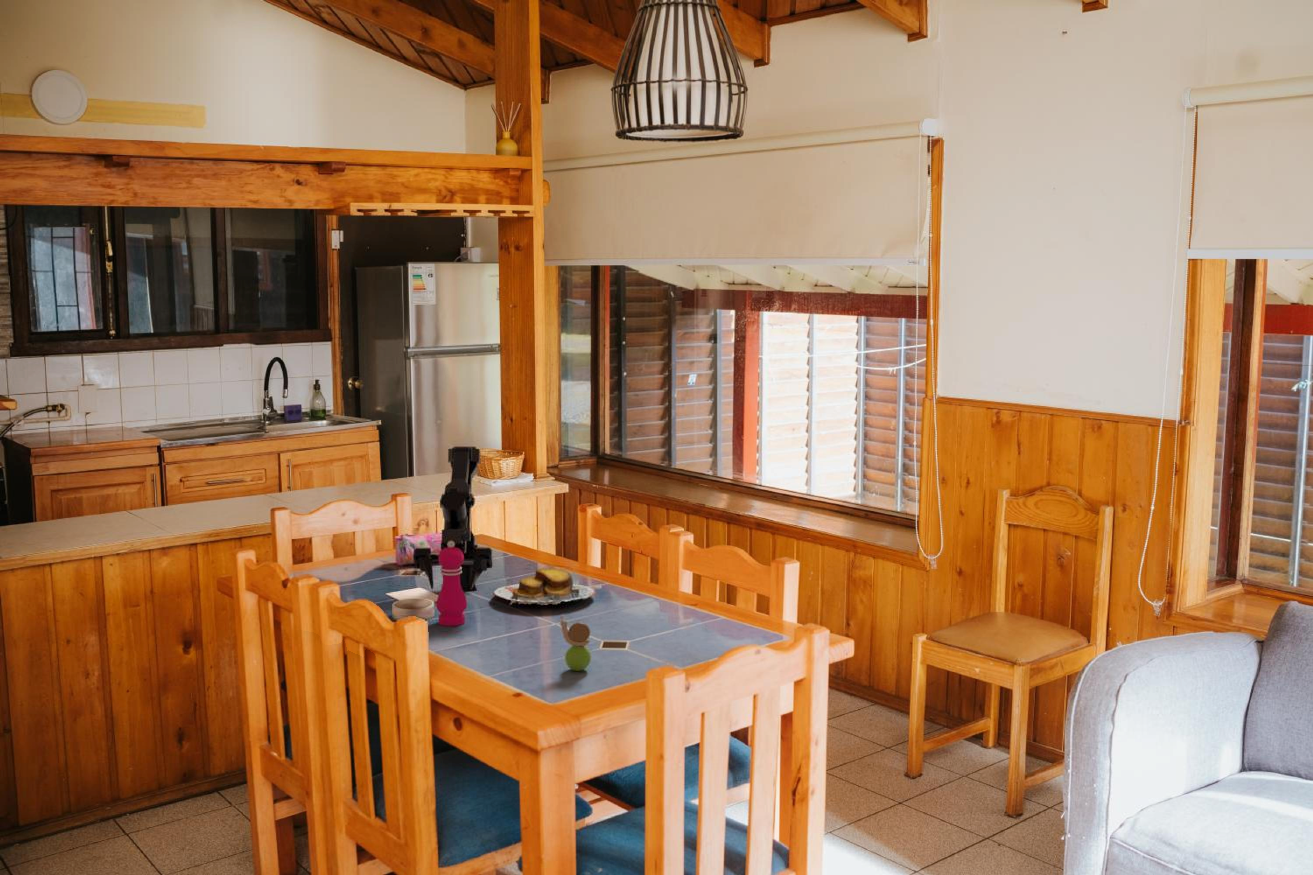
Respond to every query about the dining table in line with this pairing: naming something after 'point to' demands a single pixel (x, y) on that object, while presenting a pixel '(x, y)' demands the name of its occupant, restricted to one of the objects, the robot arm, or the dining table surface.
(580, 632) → the snail figurine
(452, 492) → the robot arm
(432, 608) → the round bowl
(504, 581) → the dining table surface
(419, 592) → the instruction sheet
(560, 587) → the food on plate
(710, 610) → the dining table surface
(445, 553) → the pepper mill
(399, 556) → the pencil case
